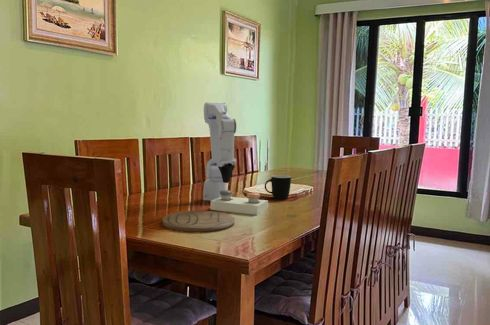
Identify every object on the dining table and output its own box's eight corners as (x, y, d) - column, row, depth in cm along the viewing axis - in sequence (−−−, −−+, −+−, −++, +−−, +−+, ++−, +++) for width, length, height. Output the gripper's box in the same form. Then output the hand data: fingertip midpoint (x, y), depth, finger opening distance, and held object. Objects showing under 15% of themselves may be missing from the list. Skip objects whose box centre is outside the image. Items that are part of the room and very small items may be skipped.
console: (210, 209, 176) (210, 201, 176) (223, 204, 187) (223, 196, 187) (257, 214, 169) (257, 205, 169) (267, 209, 180) (267, 200, 180)
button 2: (244, 203, 174) (245, 194, 174) (249, 200, 179) (249, 192, 179) (257, 204, 172) (257, 195, 172) (261, 202, 177) (262, 193, 177)
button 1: (217, 200, 179) (217, 191, 178) (222, 198, 183) (223, 189, 183) (229, 201, 177) (229, 192, 176) (234, 199, 181) (234, 190, 181)
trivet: (229, 215, 169) (229, 210, 169) (239, 232, 145) (239, 227, 144) (162, 216, 165) (162, 211, 165) (162, 234, 140) (162, 228, 140)
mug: (290, 196, 208) (290, 175, 207) (290, 200, 200) (291, 178, 198) (264, 195, 209) (265, 174, 208) (263, 199, 200) (264, 177, 199)
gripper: (228, 150, 170) (227, 185, 171) (242, 148, 183) (242, 181, 184) (212, 150, 172) (211, 184, 174) (227, 147, 186) (226, 179, 187)
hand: (226, 182), depth 179 cm, fingers closed
